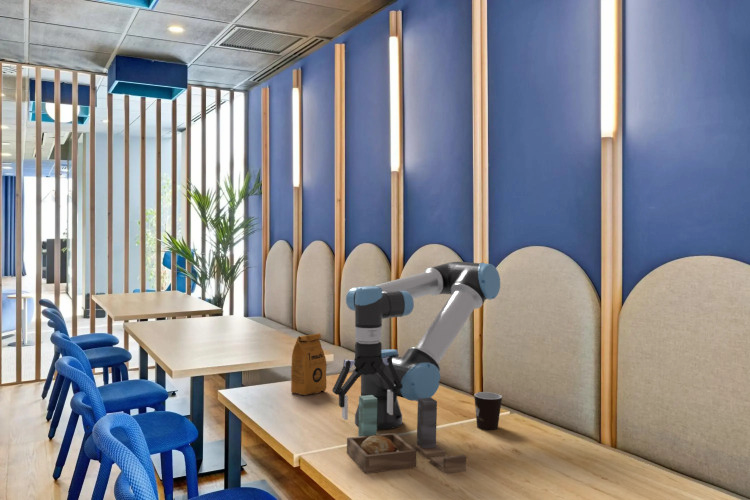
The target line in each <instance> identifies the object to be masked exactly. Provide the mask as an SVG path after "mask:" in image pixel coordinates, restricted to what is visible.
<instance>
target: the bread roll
mask: <svg viewBox="0 0 750 500" xmlns="http://www.w3.org/2000/svg"><path fill="white" fill-rule="evenodd" d="M377 435H378V434H377ZM377 435H373V436H370V437H368V438H367V439H366V440H364V441H363V443H362V444H361V448H362V449H363V450H364V451H365V453H366V454H367V455H372V454H381V453H390V452H397V450H398V449H397V447H396V446H395V445H394V444H393V443H392V441H391V440H389V439H388V438H385V437H382V436H377Z"/></svg>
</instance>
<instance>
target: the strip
mask: <svg viewBox="0 0 750 500" xmlns="http://www.w3.org/2000/svg"><path fill="white" fill-rule="evenodd" d="M429 463H430V464H431V465H433V466H434V467H435V468H437V469H438V470H439V471H441V472H443V473H444V474H447V475H448V474H450V473H451V474H452V473H457V472H464V471H466V470H467V455H465V454H459V455H453V456H452V455H448V454H447V455H446V456H441V457H432V458H429Z"/></svg>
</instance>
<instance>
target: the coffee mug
mask: <svg viewBox="0 0 750 500" xmlns="http://www.w3.org/2000/svg"><path fill="white" fill-rule="evenodd" d="M473 395H474V398H473V399H474V406H475V419H476V427H477V429H480V430H482V431H497V430H498V428H499V420H500V414H501V407H502V400H503V395H501V394H499V393H495V392H489V391H485V392H484V391H482V392H481V391H479V392H476V393H474V394H473Z"/></svg>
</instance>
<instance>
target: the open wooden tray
mask: <svg viewBox="0 0 750 500" xmlns="http://www.w3.org/2000/svg"><path fill="white" fill-rule="evenodd" d="M358 405H359V426H358V430H357V431H358V436H351V437H346V454H347V455H348V456H349V457H350V458H351V460H353V462H354V463H355V464H356V465H357V466H358V468H360V469H361V471H362V472H363V473H364V474H371V473H379V472H386V471H387V472H388V471H393V470H394V471H395V470H396V471H397V470H402V469H403V470H404V469H405V470H406V469H413V468H417V455H418V454H417V453H418V452H417V451H416V450H415V449H414V448H413V446H411V445H410V444H409V443H408V442H407V441H405V440H404V439H403V438H401V437H400V436H399V435H397V433H395V432H392V433H390V432H389V433H382V434H381V433H380V434H379V433H378V431H377V430H378V429H377V398H376V397H374V396H373V395H367V396H361V395H359V396H358ZM377 433H378V434H377ZM373 435H377V436H382V437H385V438H388V439H389V440H391V441H392V443H393V444H394V445H395V446H396V447H397V449H398V450H397V452H390V453H381V454H372V455H367V454H366V453H365V451H364V450H363V449H362V448H361V444H362V443H363V441H364V440H366V439H367V438H368V437H370V436H373Z"/></svg>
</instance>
